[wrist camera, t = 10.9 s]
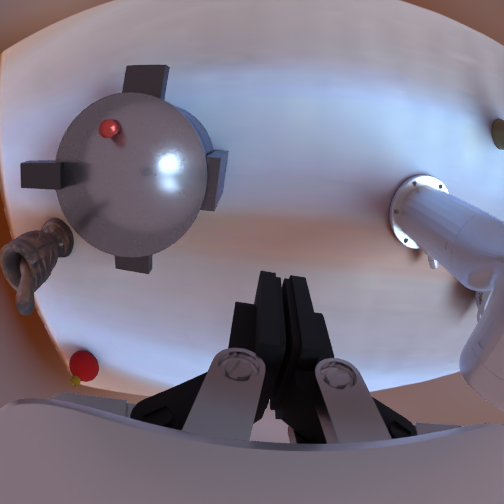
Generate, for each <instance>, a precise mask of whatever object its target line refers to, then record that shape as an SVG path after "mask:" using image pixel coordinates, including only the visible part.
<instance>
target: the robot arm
mask: <svg viewBox="0 0 504 504" xmlns="http://www.w3.org/2000/svg"><path fill="white" fill-rule="evenodd" d="M389 217H390V225H391V229H392V231H393V233H394V235H395V236H396V238H397V239H398V240H399V241H400V242H401V243H402V244H404V245H405V246H407V247H410V248H415V249H420V248H422V249H423V250H424V251H425V254H426V255H428V261H429V265H430V268H432V269H436V268H438V267H439V265H440V264H441V265H442V266H443V267H444V268H445V269H446V270H447V271H448V272H450V273H451V274H452V275H453V276H454V277H455V278H456V279H457V280H458V281H459V282H460V283H461V284H463V285H464V286H465V287H467V288H469V289H471V290H475V291H489V290H493V293H492V295H491V297H490V299H489V301H488V305H487V307H486V309H485V311H484V312H483V314H482V316H481V318H480V320H479V322H478V323H477V325H476V327H475V329H474V331H473V332H472V334H471V336H470V337H469V339H468V341H467V343H466V344H465V346H464V348H463V350H462V353H461V356H460V371H461V374H462V376H463V378H464V379H465V381H466V382H467V384H468V385H469V386H470V387H471V388H472V389H473V390H474V391H475V392H476V393H477V394H479V395H480V396H481V397H483V398H484V399H485V400H487V401H488V402H490V403H491V404H492V405H494V406H495V407H497V408H499V409H500V410H501V411H503V412H504V221H502V220H500V219H498V218H497V217H495V216H493V215H491V214H489V213H487V212H485V211H483V210H481V209H479V208H477V207H475V206H473V205H471V204H469V203H467V202H465V201H463V200H461V199H459V198H457V197H455V196H453V195H451V194H449V192H448V190H447V188H446V186H445V185H444V184H443V183H442V182H441V181H440V180H438V179H437V178H435V177H433V176H429V175H417V176H413V177H411V178H409V179H408V180H406V181H405V182H404V183H403V184H402V185H401V186H400V187H399V188H398V190H397V192H396V193H395V195H394V197H393V200H392V203H391V207H390V214H389ZM439 263H440V264H439ZM269 399H270V409H271V410H275V416H276V419H282V420H283V421H284V422H285V423H287V424H288V425H289V426H288V436H289V440H290V443H272V442H259V441H249V439H250V435H251V431H252V427H253V424H254V423H255V422H257V421H258V420H260V419H261V418H262V416H263V414H264V411H265V409H266V408H267V405H268V402H269ZM0 504H504V424H499V423H491V424H490V423H485V424H477V425H469V426H464V427H462V426H459V425H446V424H430V423H418V422H416V423H415V424H414V425H412V423H411V422H410V421H408V420H407V419H406V418H404V417H403V416H401V415H399V414H398V413H396V412H395V411H393V410H392V409H390V408H389V407H387V406H385V405H384V404H382V403H381V402H379V401H378V400H376V399H375V398H373V397H372V396H371V394H370V392H369V390H368V388H367V386H366V384H365V382H364V380H363V378H362V376H361V374H360V372H359V371H358V370H357V368H356V367H355V366H353V365H352V364H351V363H349V362H347V361H345V360H342V359H339V358H334V354H333V350H332V346H331V343H330V339H329V335H328V331H327V328H326V324H325V320H324V317H323V314H321V313H314V310H313V306H312V302H311V298H310V294H309V290H308V286H307V282H306V278H305V277H298V276H292V275H291V276H290V278H289V279H286V278H285V279H284V281H283V285H282V287H281V278H279V277H276V273H272V272H265V271H261V272H260V276H259V281H258V287H257V292H256V297H255V302H254V304H248V303H241V302H235V309H234V315H233V321H232V328H231V334H230V341H229V347H228V349H225V350H222V351H221V352H219V353H218V354H217V355H216V356H215V357H214V359H213V361H212V363H211V365H210V368H209V370H208V372H206V373H204V374H202V375H200V376H198V377H195V378H193V379H191V380H189V381H186V382H184V383H182V384H180V385H177V386H175V387H173V388H170V389H168V390H166V391H163V392H161V393H158V394H156V395H154V396H151V397H149V398H146V399H144V400H142V401H140V402H139V403H137V404H128V403H127V400H121V399H111V398H102V397H95V396H88V395H81V394H75V393H69V392H61V393H58V394H55V395H53V396H52V397H51V398H50V399H40V398H26V399H18V400H15V401H12V402H10V403H8V404H6V405H4V406H3V407H2V408H1V409H0Z"/></svg>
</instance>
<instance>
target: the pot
mask: <svg viewBox="0 0 504 504" xmlns="http://www.w3.org/2000/svg"><path fill="white" fill-rule="evenodd" d="M169 68H170V67H168V66H167V65H132V66H127V67H126V73H125V79H124V85H123V91H122V93H129V92H132V93H142V94H147V95H151V96H154V97H157V98H160V99H162V100H164V98H165V92H166V85H167V79H168V74H169ZM174 107H176V106H174ZM176 108H177V109H178V110H179V111H181V112H182V113H183V114H184V115H185V116H186V117H187V118H188V119H189V121H190V122H191V123H192V125H193V126H194V128H195V129H196V131H197V133H198V135H199V137H200V139H201V141H202V144H203V147H204V150H205V154H206V159H207V168H208V179H207V188H206V193H205V197H204V200H203V203H202V206H201V208H200V210H207V211H215V208H216V206H217V204H218V201H219V199H220V197H221V195H222V193H223V186H224V179H225V172H226V165H227V158H228V151H223V150H216V151H214V150H213V145H212V143H211V140H210V137H209V135H208V133H207V131H206V130H205V128H204V127H203V125H202V124H201V123H200V122H199V121H198V120H197V119H196V118H195V117H194V116H193V115H191V114H190V113H188V112H187V111H185V110H183V109H181V108H179V107H176ZM115 265H116V268H117V269H122V270H128V271H134V272H139V273H145V274H149V273H150V271H151V270H152V254H151V255H147V256H142V257H121V256H116V255H115Z"/></svg>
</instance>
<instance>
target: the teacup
mask: <svg viewBox="0 0 504 504" xmlns="http://www.w3.org/2000/svg"><path fill="white" fill-rule="evenodd" d="M492 293H493V290H489V291H476V303H477V307H478V314H477V319H478V322H479V320H480V314H481V316H482V314H483V312H484V311H485V309H486V307H487V305H488V301H489V299H490V297H491V295H492Z"/></svg>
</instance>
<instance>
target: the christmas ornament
mask: <svg viewBox="0 0 504 504" xmlns="http://www.w3.org/2000/svg"><path fill="white" fill-rule="evenodd" d="M69 366H70V370H71V372H72V374H73V377H72V379H71V381H72V386H73V383H74V384H75V386H76V385H79V384H80V381H85V382H87V381H91V380H93V379H94V378H95V377H96V376H97V374H98V371H99V365H98V361H97V359H96V358H95V357H94V355H92V354H91V353H90V352H87V351H78V352H76V353H74V354H73V355H72V357H71V359H70V363H69ZM75 386H74V387H75Z"/></svg>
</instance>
